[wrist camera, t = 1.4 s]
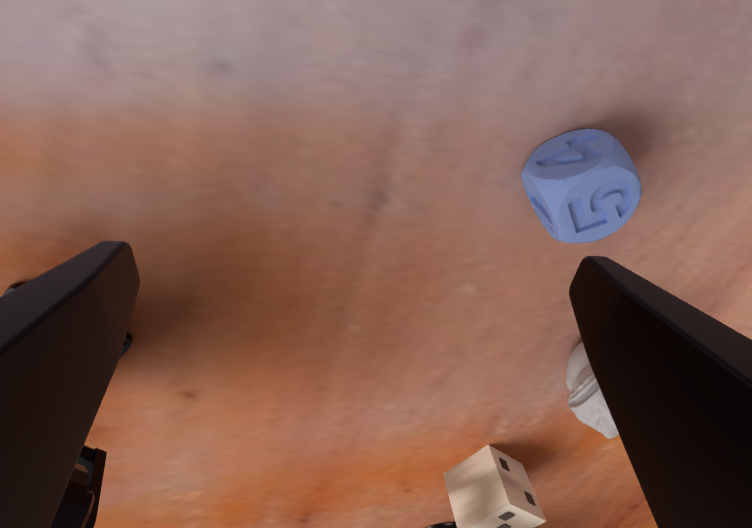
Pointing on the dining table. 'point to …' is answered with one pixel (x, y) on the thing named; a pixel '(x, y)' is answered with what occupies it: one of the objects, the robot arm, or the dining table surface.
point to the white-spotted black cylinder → (444, 525)
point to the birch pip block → (492, 492)
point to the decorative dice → (582, 185)
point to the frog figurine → (587, 394)
